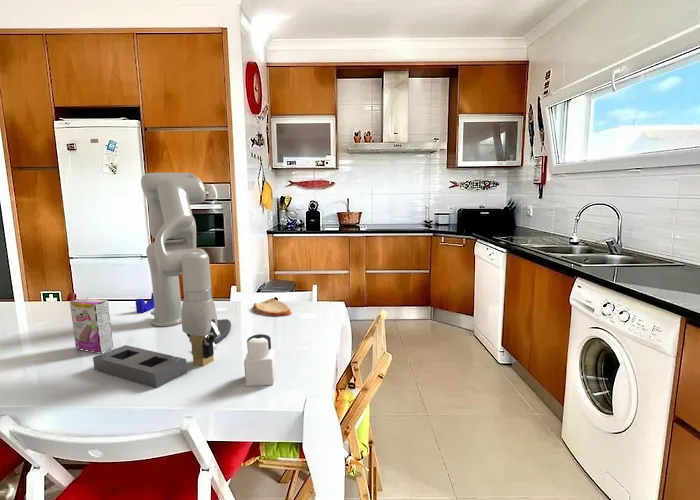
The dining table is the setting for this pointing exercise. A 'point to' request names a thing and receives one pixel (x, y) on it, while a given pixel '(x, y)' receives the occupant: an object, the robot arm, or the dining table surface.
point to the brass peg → (199, 351)
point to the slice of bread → (272, 308)
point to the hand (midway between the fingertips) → (203, 354)
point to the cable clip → (144, 305)
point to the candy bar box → (91, 324)
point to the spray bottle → (222, 330)
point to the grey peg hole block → (140, 365)
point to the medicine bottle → (259, 361)
